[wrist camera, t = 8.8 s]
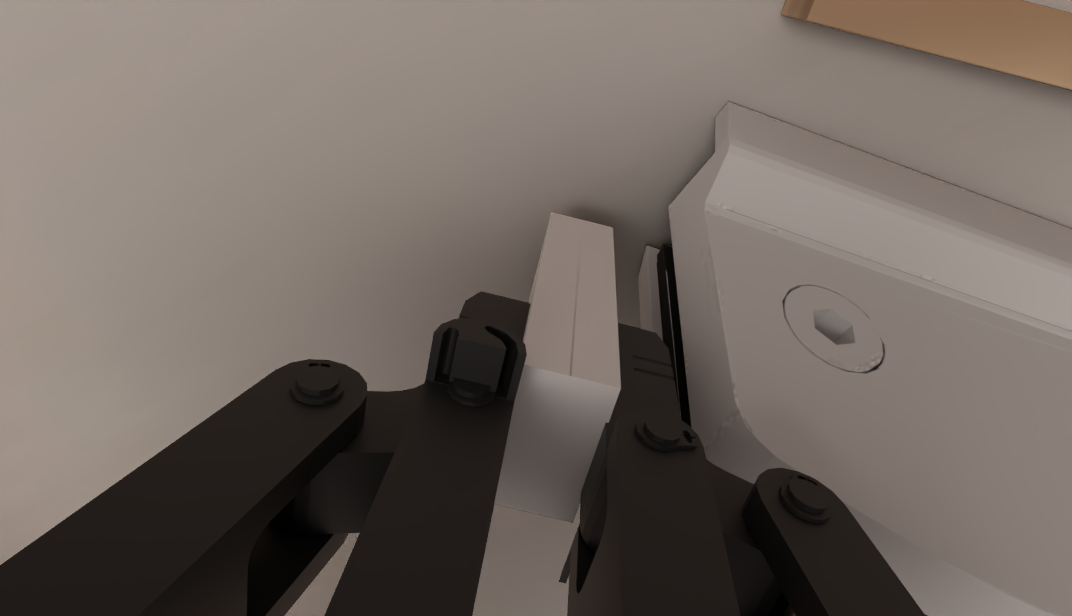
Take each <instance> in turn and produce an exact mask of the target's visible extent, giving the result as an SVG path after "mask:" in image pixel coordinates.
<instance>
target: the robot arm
mask: <svg viewBox="0 0 1072 616" xmlns="http://www.w3.org/2000/svg"><path fill="white" fill-rule="evenodd" d="M673 378H674V376H673V370H672V367H671V359H670V354H669V349H668V347H667V346H666V345H665V344H664V342H663V341H662V340H661V338H660V337H659V336H658V335H657V333H656V332H652V331H648V330H644V329H640V328H636V327H631V326H627V325H623V324H619V323H618V319H617V299H616V279H615V259H614V239H613V227H609V226H605V225H601V224H597V223H593V222H589V221H585V220H581V219H577V218H573V217H569V216H565V215H561V214H557V213H553V212H551V215H550V219H549V223H548V227H547V231H546V235H545V238H544V242H543V246H542V250H541V254H540V258H539V262H538V266H537V270H536V274H535V278H534V282H533V286H532V290H531V294H530V298H529V302H528V303H526V302H522V301H518V300H514V299H510V298H506V297H502V296H498V295H494V294H490V293H486V292H479V293H478V294H476V295H474V296H473V297H471V298H470V299H468V300H466V301H465V304H464V306H463V309H462V311H461V313H460V317H459V318H458V319H454V320H451V321H449V322H446V323H443V324H441V325H440V326H439V327H438V329H437V330H436V331H435V332H434V336H433V341H432V347H431V353H430V358H429V364H428V369H427V375H426V380H425V383H424V384H422V385H420V386H418V387H416V388H413V389H408V390H403V391H391V392H380V391H367V383H366V382H365V380H364V379H363V378H362V376H361V375H360V374H359V373H358V372H357V371H355V370H353V369H352V368H350V367H348V366H347V365H345V364H341V363H337V362H333V361H330V360H312V359H308V360H303V361H298V362H292V363H289V364H287V365H285V366H283V367H281V368H279V369H277V370H275V371H274V372H272V373H271V374H269V375H268V376H266V377H265V378H264V379H262V380H261V381H259V382H258V383H257V384H255V385H254V386H252V387H251V388H250V389H248V390H247V391H245V392H244V393H243V394H241V395H240V396H238V397H237V398H235V399H234V400H233V401H231V402H230V403H228V404H227V405H226V406H224V407H223V408H221V409H220V410H219V411H217V412H216V413H214V414H213V415H211V416H210V417H209V418H207V419H206V420H204V421H203V422H202V423H200V424H199V425H197V426H196V427H195V428H193V429H192V430H190V431H189V432H188V433H186V434H185V435H183V436H182V437H180V438H179V439H178V440H176V441H175V442H173V443H172V444H171V445H169V446H168V447H166V448H165V449H164V450H162V451H161V452H159V453H158V454H156V455H155V456H154V457H152V458H151V459H149V460H148V461H147V462H145V463H144V464H142V465H141V466H140V467H138V468H137V469H135V470H134V471H133V472H131V473H130V474H128V475H127V476H125V477H124V478H123V479H121V480H120V481H118V482H117V483H116V484H114V485H113V486H111V487H110V488H109V489H107V490H106V491H104V492H103V493H101V494H100V495H99V496H97V497H96V498H94V499H93V500H92V501H90V502H89V503H87V504H86V505H85V506H83V507H82V508H80V509H79V510H78V511H76V512H75V513H73V514H72V515H70V516H69V517H68V518H66V519H65V520H63V521H62V522H61V523H59V524H58V525H56V526H55V527H54V528H52V529H51V530H49V531H48V532H46V533H45V534H44V535H42V536H41V537H39V538H38V539H37V540H35V541H34V542H32V543H31V544H30V545H28V546H27V547H25V548H24V549H23V550H21V551H20V552H18V553H17V554H15V555H14V556H13V557H11V558H10V559H8V560H7V561H6V562H4V563H3V564H1V565H0V616H284V615H285V614H286V613H287V612H288V610H289V609H290V608H291V607H292V606H293V604H294V603H295V602H296V601H297V599H298V598H299V597H300V596H301V594H302V593H303V592H304V591H305V590H306V588H307V587H308V586H309V585H310V583H311V582H312V581H313V580H314V578H315V577H316V576H317V575H318V574H319V572H320V571H321V570H322V569H323V567H324V566H325V565H326V564H327V563H328V561H329V560H330V559H331V558H332V556H333V555H334V554H335V553H336V551H337V550H338V549H339V548H340V547H341V545H342V544H343V543H344V541H345V539H346V537H347V535H348V533H360V534H359V536H358V539H357V541H356V543H355V546H354V548H353V550H352V553H351V555H350V557H349V560H348V562H347V564H346V567H345V569H344V571H343V574H342V576H341V578H340V581H339V583H338V585H337V588H336V590H335V592H334V595H333V597H332V599H331V602H330V604H329V606H328V609H327V611H326V613H325V616H472V613H473V608H474V603H475V598H476V593H477V588H478V583H479V578H480V573H481V568H482V563H483V558H484V553H485V548H486V543H487V537H488V532H489V527H490V522H491V517H492V512H493V507H494V504H496V505H500V506H505V507H509V508H513V509H517V510H521V511H526V512H530V513H534V514H538V515H542V516H547V517H551V518H555V519H559V520H563V521H568V522H572V523H573V521H574V518H575V515H576V513H577V510H578V507H579V504H580V501H581V505H580V524H579V527H578V529H577V532H576V535H575V538H574V540H573V543H572V546H571V549H570V551H569V554H568V557H567V560H566V562H565V565H564V568H563V571H562V574H561V577H560V580H559V582H563V583H566V581H567V579H568V576H569V573H570V576H569V595H568V613H567V616H926V615H925V614H924V613H923V611H922V610H921V609H920V607H919V606H918V604H917V603H916V602H915V600H914V599H913V597H912V596H911V595H910V593H909V592H908V591H907V589H906V588H905V586H904V585H903V584H902V582H901V581H900V580H899V578H898V577H897V575H896V574H895V573H894V571H893V570H892V569H891V567H890V566H889V564H888V563H887V562H886V560H885V559H884V558H883V556H882V555H881V553H880V552H879V551H878V549H877V548H876V546H875V545H874V544H873V542H872V541H871V540H870V538H869V537H868V535H867V534H866V533H865V531H864V530H863V529H862V527H861V526H860V524H859V523H858V522H857V520H856V519H855V518H854V516H853V515H852V513H851V512H850V511H849V509H848V508H847V507H846V505H845V504H844V503H843V502H842V501H841V500H840V499H839V498H838V496H837V495H836V494H835V493H834V492H833V491H832V490H830V489H829V488H827V487H826V486H825V485H823V484H822V483H820V482H819V481H818V480H816V479H814V478H812V477H810V476H807V475H806V474H803V473H801V472H799V471H795V470H790V469H785V468H772V469H767V470H765V471H764V472H763V473H761V474H760V475H759V476H758V478H757V480H756V482H755V483H754V484H752V483H750V482H748V481H746V480H744V479H742V478H740V477H737V476H735V475H733V474H731V473H729V472H727V471H725V470H723V469H721V468H719V467H718V466H716V465H714V464H712V463H711V462H710V461H708V460H707V459H706V455H705V451H704V446H703V444H702V442H701V440H700V438H699V436H698V434H697V433H696V432H695V431H694V430H693V429H692V428H691V427H690V426H689V425H688V424H687V423H685V422H683V421H682V420H681V414H680V409H679V403H678V398H677V392H676V387H675V381H674V380H673Z"/></svg>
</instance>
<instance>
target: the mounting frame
mask: <svg viewBox="0 0 1072 616" xmlns="http://www.w3.org/2000/svg"><path fill="white" fill-rule="evenodd" d="M781 15H784V16H788V17H792V18H796V19H800V20H803V21H807V22H811V23H815V24H819V25H822V26H826V27H830V28H834V29H838V30H842V31H845V32H849V33H853V34H857V35H861V36H864V37H868V38H872V39H876V40H880V41H884V42H887V43H891V44H895V45H899V46H903V47H907V48H910V49H914V50H918V51H922V52H926V53H929V54H933V55H937V56H941V57H945V58H949V59H952V60H956V61H960V62H964V63H968V64H972V65H975V66H979V67H983V68H987V69H991V70H994V71H998V72H1002V73H1006V74H1010V75H1014V76H1017V77H1021V78H1025V79H1029V80H1033V81H1036V82H1040V83H1044V84H1048V85H1052V86H1056V87H1059V88H1063V89H1067V90H1071V91H1072V13H1069V12H1065V11H1061V10H1058V9H1054V8H1050V7H1046V6H1043V5H1039V4H1035V3H1031V2H1027V1H1024V0H786V2H785V5H784V8H783V10H782V13H781Z"/></svg>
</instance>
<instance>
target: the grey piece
mask: <svg viewBox="0 0 1072 616" xmlns="http://www.w3.org/2000/svg"><path fill="white" fill-rule="evenodd" d="M668 210H669V219H670V229H671V238H672V247H671V246H668V245H665V244H664V245H663V246H662V248H661V249H660V250H659V249H656V248H653V247H650V246H647V245H646V249H645V253H644V256H643V260H642V264H641V268H640V272H639V276H638V286H639V305H640V324H641V329H644V330H648V331H652V332H656V333H657V335H658V336H659V337H660V338H661V340H662V341H663V342H664V344H665V345H666V346H667V347H668V349H669V354H670V359H671V367H672V370H673V376H674V378H673V380H674V381H675V387H676V392H677V398H678V403H679V409H680V414H681V420H682V421H683V422H685V423H687V424H688V425H689V426H690V427H691V428H692V429H693V430H694V431H695V432H696V433H697V434H698V436H699V438H700V440H701V442H702V444H703V446H704V451H705V455H706V459H707V460H708V461H710V462H711V463H712V464H714V465H716V466H718V467H719V468H721V469H723V470H725V471H727V472H729V473H731V474H733V475H735V476H737V477H740V478H742V479H744V480H746V481H748V482H750V483H752V484H754V483H755V482H756V480H757V478H758V476H759V475H760V474H761V473H763V472H764V471H765V470H767V469H772V468H785V469H790V470H795V471H799V472H801V473H803V474H806V475H807V476H810V477H812V478H814V479H816V480H818V481H819V482H820V483H822V484H823V485H825V486H826V487H827V488H829V489H830V490H832V491H833V492H834V493H835V494H836V495H837V496H838V498H839V499H840V500H841V501H842V502H843V503H844V504H845V505H846V507H847V508H848V509H849V511H850V512H851V513H852V515H853V516H854V518H855V519H856V520H857V522H858V523H859V524H860V526H861V527H862V529H863V530H864V531H865V533H866V534H867V535H868V537H869V538H870V540H871V541H872V542H873V544H874V545H875V546H876V548H877V549H878V551H879V552H880V553H881V555H882V556H883V558H884V559H885V560H886V562H887V563H888V564H889V566H890V567H891V569H892V570H893V571H894V573H895V574H896V575H897V577H898V578H899V580H900V581H901V582H902V584H903V585H904V586H905V588H906V589H907V591H908V592H909V593H910V595H911V596H912V597H913V599H914V600H915V602H916V603H917V604H918V606H919V607H920V609H921V610H922V611H923V613H924V614H925V615H926V616H1072V229H1070V228H1067V227H1065V226H1062V225H1059V224H1057V223H1054V222H1051V221H1049V220H1046V219H1043V218H1041V217H1038V216H1035V215H1032V214H1030V213H1027V212H1024V211H1022V210H1019V209H1016V208H1014V207H1011V206H1008V205H1006V204H1003V203H1000V202H998V201H995V200H992V199H989V198H987V197H984V196H981V195H979V194H976V193H973V192H971V191H968V190H965V189H963V188H960V187H957V186H954V185H952V184H949V183H946V182H944V181H941V180H938V179H936V178H933V177H930V176H928V175H925V174H922V173H920V172H917V171H914V170H911V169H909V168H906V167H903V166H901V165H898V164H895V163H893V162H890V161H887V160H885V159H882V158H879V157H876V156H874V155H871V154H868V153H866V152H863V151H860V150H858V149H855V148H852V147H850V146H847V145H844V144H842V143H839V142H836V141H833V140H831V139H828V138H825V137H823V136H820V135H817V134H815V133H812V132H809V131H807V130H804V129H801V128H799V127H796V126H793V125H790V124H788V123H785V122H782V121H780V120H777V119H774V118H772V117H769V116H766V115H764V114H761V113H758V112H755V111H753V110H750V109H747V108H745V107H742V106H739V105H737V104H734V103H731V102H729V101H728V103H727V104H726V105H725V106H724V107H723V109H722V110H721V111H720V112H719V114H718V115H717V116H716V117H715V153H714V154H713V155H712V157H711V158H710V159H709V160H708V161H707V162H706V163H705V165H704V166H703V167H702V168H701V169H700V170H699V172H698V173H697V174H696V175H695V176H694V177H693V179H692V180H691V181H690V182H689V183H688V184H687V185H686V187H685V188H684V189H683V190H682V191H681V192H680V194H679V195H678V196H677V197H676V198H675V199H674V200H673V202H672V203H671V204H670V205H669V206H668Z"/></svg>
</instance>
